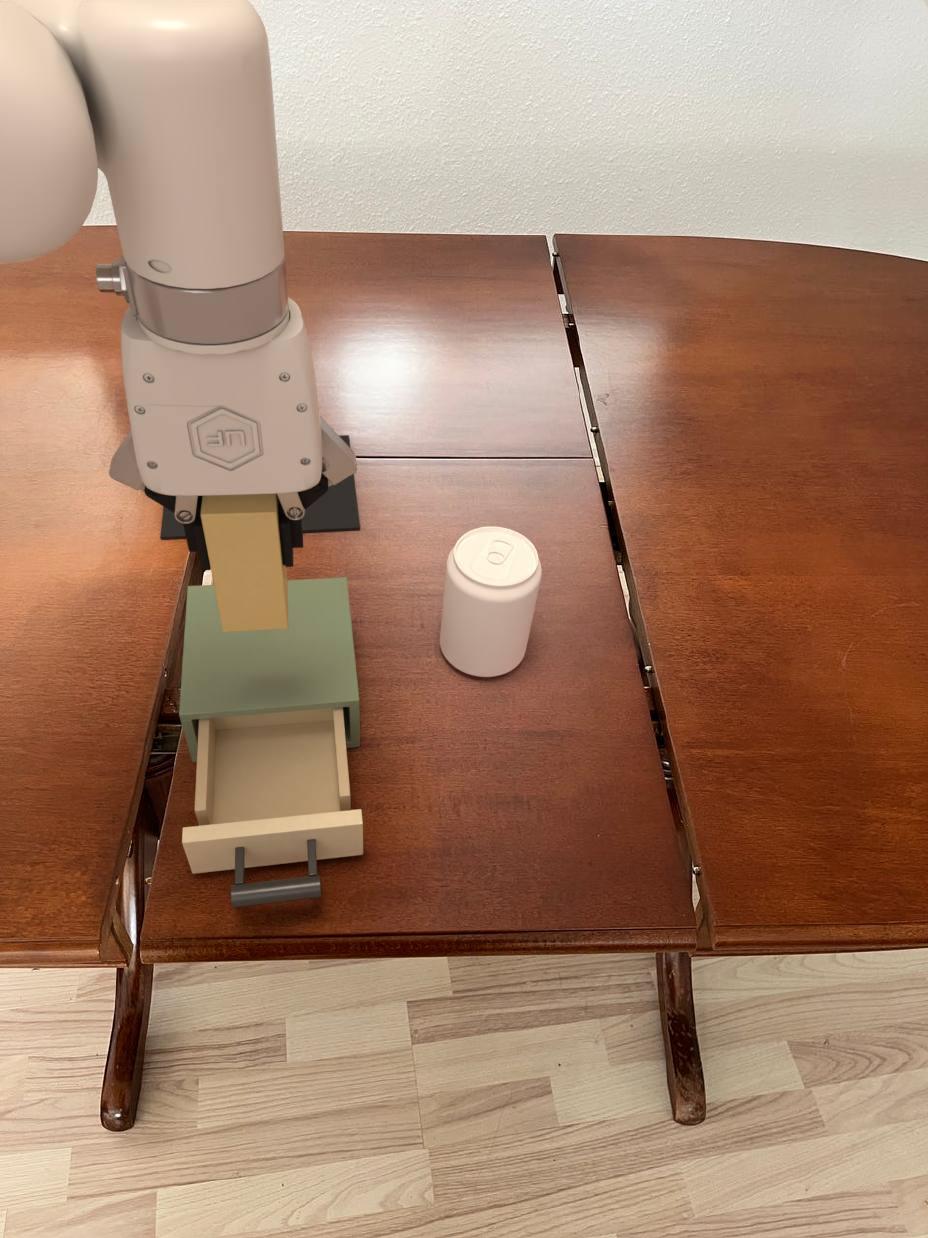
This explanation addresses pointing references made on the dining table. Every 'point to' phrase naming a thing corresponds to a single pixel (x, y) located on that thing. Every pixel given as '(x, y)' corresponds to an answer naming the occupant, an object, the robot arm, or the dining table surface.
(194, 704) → the cabinet
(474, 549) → the beverage can
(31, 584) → the dining table surface
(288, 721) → the drawer
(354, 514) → the mat
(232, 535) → the box
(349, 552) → the dining table surface
